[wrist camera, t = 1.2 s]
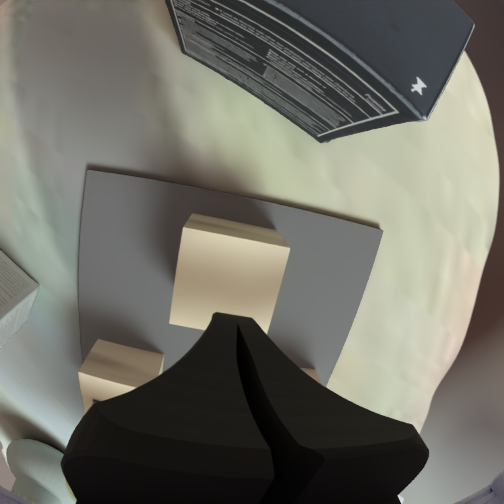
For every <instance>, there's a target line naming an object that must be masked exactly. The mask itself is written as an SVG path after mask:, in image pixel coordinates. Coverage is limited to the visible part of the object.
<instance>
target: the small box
mask: <svg viewBox="0 0 504 504" xmlns="http://www.w3.org/2000/svg"><path fill="white" fill-rule="evenodd" d="M165 3H166V5H167V7H168V10H169V13H170V16H171V19H172V22H173V25H174V27H175V31H176V34H177V36H178V40H179V44H180V47H181V51H182V53H183V54H185V55H188V56H189V57H191V58H193V59H194V60H196V61H198V62H200V63H201V64H203V65H205V66H207V67H208V68H210V69H212V70H214V71H215V72H217V73H219V74H220V75H222V76H224V77H225V78H226V79H228V80H230V81H232V82H233V83H235V84H237V85H238V86H240V87H241V88H243V89H244V90H246V91H248V92H249V93H251V94H252V95H254V96H255V97H257V98H258V99H260V100H261V101H263V102H264V103H265V104H267V105H268V106H270V107H271V108H273V109H275V110H276V111H277V112H279V113H280V114H281V115H283V116H285V117H286V118H287V119H289V120H290V121H291V122H293V123H294V124H296V125H297V126H298V127H300V128H301V129H302V130H304V131H305V132H307V133H308V134H309V135H311V136H312V137H313V138H315V139H316V140H317V141H318V142H319V143H325V142H329V141H331V140H332V139H336V138H339V137H344V136H348V135H352V134H356V133H360V132H364V131H369V130H372V129H378V128H382V127H387V126H391V125H395V124H401V123H405V122H413V121H415V122H421V121H427V120H428V119H429V118H430V115H431V113H432V112H433V110H434V108H435V106H436V104H437V102H438V100H439V98H440V96H441V94H442V93H443V91H444V89H445V87H446V85H447V83H448V82H449V80H450V78H451V75H452V73H453V71H454V69H455V67H456V65H457V63H458V62H459V60H460V57H461V55H462V53H463V51H464V50H465V47H466V45H467V43H468V41H469V39H470V36H471V34H472V32H473V29H474V27H475V26H474V23H473V22H472V20H471V19H470V18H469V17H468V16H467V15H466V14H465V13H464V12H463V10H462V9H460V7H459V6H458V5H457V4H456V3H455V2H454V1H453V0H165Z"/></svg>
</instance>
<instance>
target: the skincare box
mask: <svg viewBox="0 0 504 504" xmlns="http://www.w3.org/2000/svg"><path fill="white" fill-rule="evenodd" d="M38 289H39V284H37V283H36V282H35V281H34V280H33V279H31V278H30V277H29V276H28V275H27V274H26V273H25V272H23V271H22V270H21V269H20V268H19V267H18V266H17V265H16V264H15V263H14V262H13V261H11V260H10V259H9V258H8V257H7V256H6V255H5V254H4V253H3V252H2V251H1V250H0V349H1V348H2V346H3V345H4V344H5V343H6V342H7V341H8V340H9V339H10V338H11V337H12V336H13V335H14V334H15V333H16V332H17V331H18V330H19V329H20V328H21V327H22V326H23V325H24V324H25V323H26V321H27V320H28V317H29V313H30V310H31V307H32V305H33V302H34V299H35V297H36V294H37V291H38Z"/></svg>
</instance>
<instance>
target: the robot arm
mask: <svg viewBox="0 0 504 504" xmlns="http://www.w3.org/2000/svg"><path fill="white" fill-rule="evenodd" d="M428 457H429V449H428V448H427V446H426V445H425V443H424V441H423V440H422V438H421V437H420V435H419V433H418V432H417V430H416V429H415V427H414V426H413V425H412V424H408V423H405V422H402V421H398V420H395V419H392V418H389V417H386V416H383V415H380V414H377V413H375V412H372V411H370V410H368V409H365V408H363V407H361V406H359V405H357V404H355V403H353V402H351V401H349V400H347V399H345V398H343V397H341V396H339V395H338V394H336V393H334V392H333V391H331V390H329V389H328V388H326V387H325V386H323V385H322V384H320V383H319V382H317V381H316V380H315V379H313V378H312V377H311V376H309V375H308V374H307V373H305V372H304V371H303V370H302V369H300V368H299V367H298V366H297V365H296V364H295V363H294V362H293V361H291V360H290V359H289V358H288V357H287V356H286V355H285V354H284V353H283V352H282V351H281V350H280V349H279V348H278V347H277V346H276V344H275V343H274V342H273V341H272V340H271V339H270V338H269V337H268V335H267V334H266V333H265V332H264V331H263V330H262V328H261V327H260V326H259V325H258V323H257V322H256V321H255V320H254V319H253V318H251V317H245V316H239V315H233V314H227V313H221V312H215V313H213V314H212V319H211V321H210V323H209V325H208V327H207V328H206V330H205V331H204V333H203V334H202V336H201V337H200V338H199V340H198V341H197V342H196V343H195V344H194V345H193V346H192V348H191V349H190V350H189V351H188V352H187V353H186V354H185V355H184V356H183V357H182V358H181V359H180V360H178V361H177V362H176V363H175V364H174V365H172V366H171V367H170V368H168V369H167V370H166V371H164V372H163V373H161V374H160V375H159V376H157V377H155V378H154V379H152V380H151V381H149V382H147V383H145V384H143V385H141V386H139V387H137V388H135V389H133V390H131V391H129V392H127V393H124V394H121V395H118V396H116V397H113V398H110V399H107V400H104V401H100V402H97V403H94V404H93V405H92V406H91V407H90V408H89V410H88V411H87V412H86V414H85V415H84V416H83V418H82V419H81V421H80V422H79V424H78V425H77V427H76V428H75V430H74V432H73V433H72V435H71V438H70V440H69V442H68V445H67V447H66V450H65V452H64V455H63V458H62V460H61V463H60V464H61V469H62V472H63V475H64V477H65V479H66V481H67V483H68V485H69V487H70V489H71V491H72V492H73V494H74V496H75V498H76V504H401V502H400V500H399V498H398V496H397V495H398V494H399V493H400V492H402V491H403V490H404V489H405V488H406V487H407V486H408V485H409V484H410V483H411V482H412V480H414V478H415V477H416V476H417V475H418V474H419V473H420V472H421V470H422V469H423V468H424V466H425V464H426V462H427V460H428ZM0 504H34V503H32V502H30V501H28V500H26V499H24V498H22V497H20V496H18V495H16V494H14V493H12V492H11V491H9V490H7V489H5V488H3V487H2V486H0ZM454 504H504V470H503V471H502V472H501V473H500V474H499V475H498V476H497V477H496V478H495V479H494V480H493V481H492V482H491V483H490V485H488V486H487V487H485V488H483V489H481V490H479V491H478V492H476V493H474V494H472V495H470V496H468V497H466V498H464V499H462V500H460V501H458V502H456V503H454Z"/></svg>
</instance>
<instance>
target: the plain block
mask: <svg viewBox="0 0 504 504" xmlns="http://www.w3.org/2000/svg"><path fill="white" fill-rule="evenodd" d="M289 252H290V247H289V245H288V244H287V243H286V242H285V240H284V239H283V238H282V236H281V235H280V234H279V233H278V231H277V230H274V229H269V228H264V227H260V226H255V225H250V224H245V223H240V222H235V221H230V220H225V219H220V218H215V217H209V216H204V215H199V214H194V213H192V215H191V216H190V218H189V219H188V221H187V222H186V224H185V225H184V227H183V231H182V237H181V243H180V249H179V255H178V262H177V268H176V275H175V282H174V290H173V297H172V305H171V313H170V321H169V324H174V325H179V326H185V327H190V328H195V329H201V330H206V328H207V327H208V325H209V323H210V321H211V319H212V314H213V313H215V312H221V313H227V314H233V315H239V316H245V317H251V318H253V319H254V320H255V321H256V322H257V323H258V325H259V326H260V327H261V328H262V330H263V331H264V332H265V333H266V334H267V332H268V329H269V325H270V322H271V318H272V315H273V311H274V308H275V304H276V300H277V297H278V293H279V289H280V286H281V282H282V278H283V275H284V271H285V267H286V263H287V260H288V256H289Z"/></svg>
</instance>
